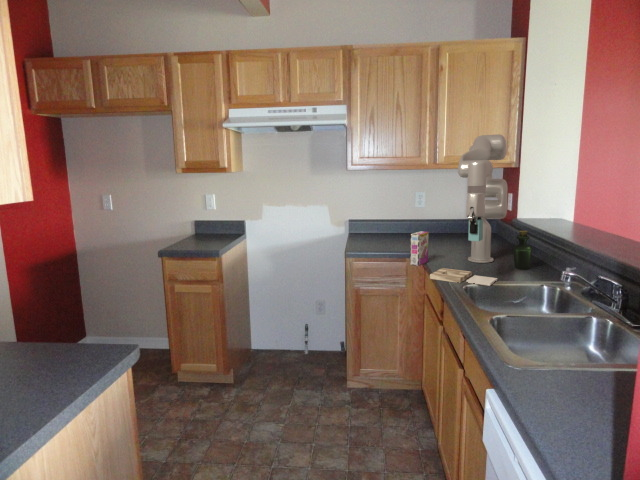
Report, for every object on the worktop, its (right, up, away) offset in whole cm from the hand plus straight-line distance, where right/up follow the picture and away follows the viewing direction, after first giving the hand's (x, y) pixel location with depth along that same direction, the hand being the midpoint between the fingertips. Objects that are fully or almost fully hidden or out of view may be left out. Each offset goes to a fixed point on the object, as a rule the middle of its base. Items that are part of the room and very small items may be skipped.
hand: (475, 232), depth 189 cm
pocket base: (-8, -20, +10) cm, 24 cm away
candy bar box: (-15, -16, +39) cm, 45 cm away
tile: (+3, -21, +2) cm, 22 cm away
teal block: (0, -3, +1) cm, 3 cm away
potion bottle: (+30, -17, +22) cm, 41 cm away
